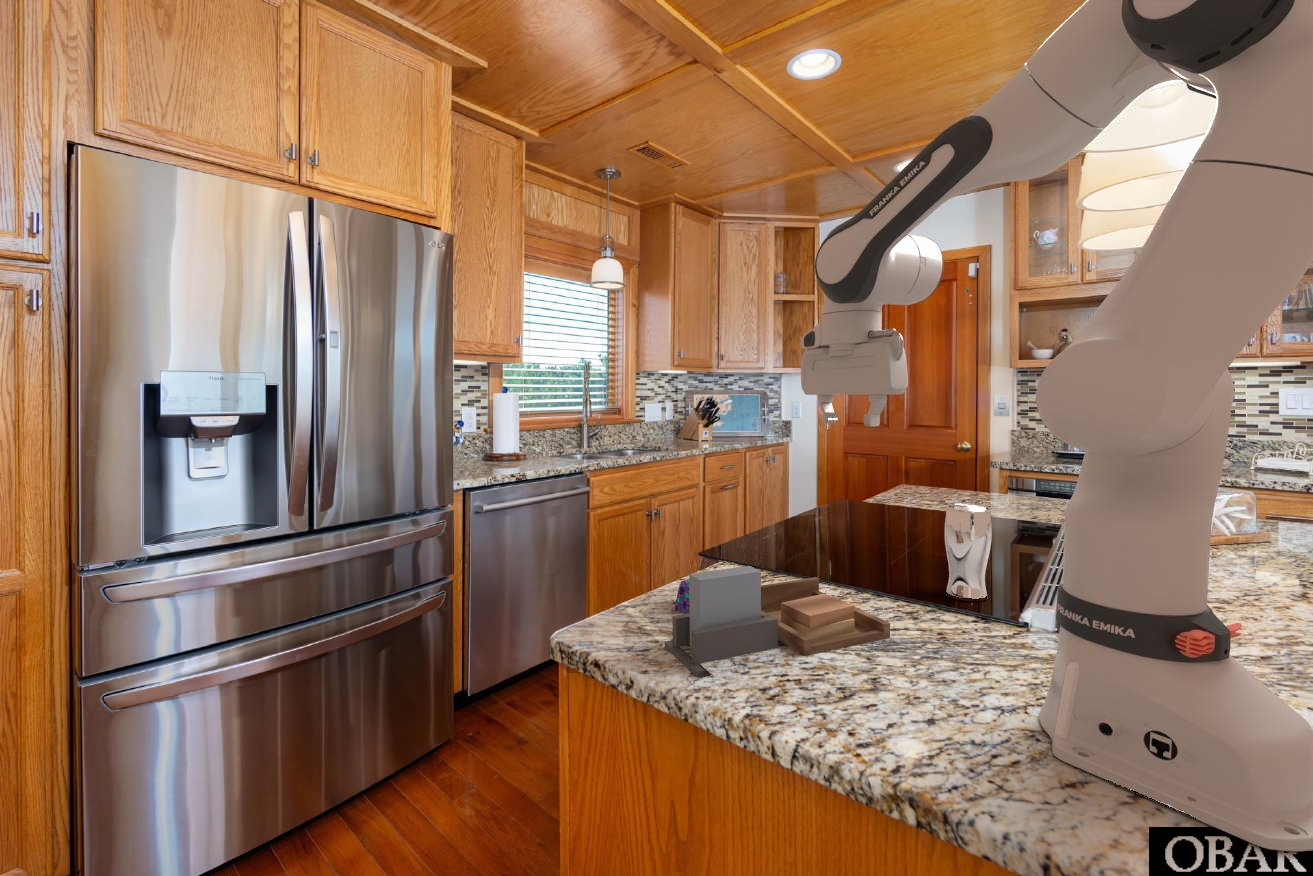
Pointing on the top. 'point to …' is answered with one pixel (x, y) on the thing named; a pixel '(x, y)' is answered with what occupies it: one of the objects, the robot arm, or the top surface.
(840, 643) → the tray
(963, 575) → the beer glass
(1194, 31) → the robot arm
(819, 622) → the offcut top
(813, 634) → the offcut low
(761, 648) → the holder
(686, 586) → the purple rounded dome
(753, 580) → the gray rectangular block
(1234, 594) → the top surface
